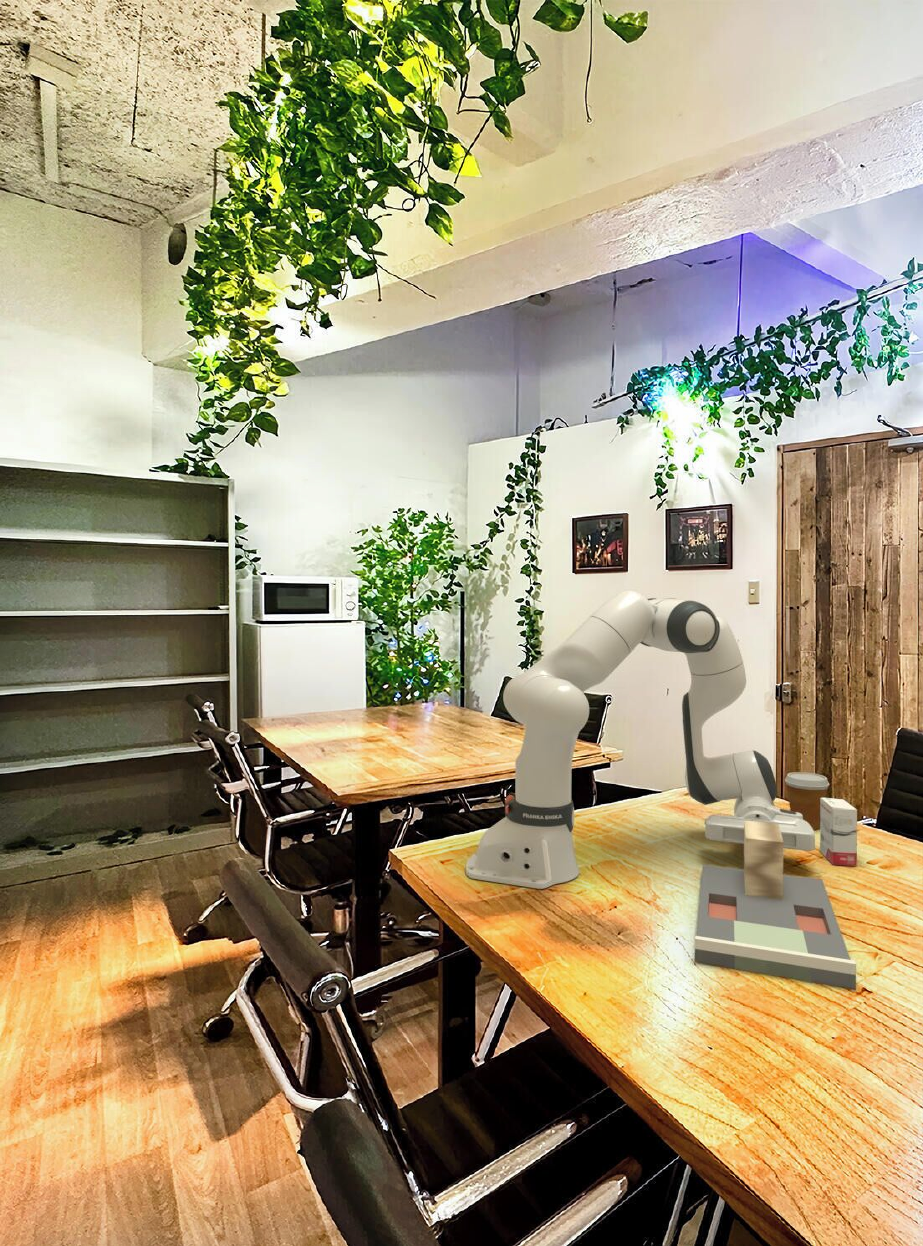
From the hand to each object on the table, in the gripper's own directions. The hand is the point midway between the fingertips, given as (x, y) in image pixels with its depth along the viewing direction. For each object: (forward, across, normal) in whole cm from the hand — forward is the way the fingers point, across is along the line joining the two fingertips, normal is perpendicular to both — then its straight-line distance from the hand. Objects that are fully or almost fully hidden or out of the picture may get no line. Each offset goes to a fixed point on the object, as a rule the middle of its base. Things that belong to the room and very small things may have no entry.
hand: (760, 844), depth 134 cm
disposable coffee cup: (-40, +12, +7) cm, 42 cm away
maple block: (+8, 0, +5) cm, 9 cm away
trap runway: (+19, 0, +7) cm, 20 cm away
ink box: (-18, +16, +7) cm, 25 cm away
